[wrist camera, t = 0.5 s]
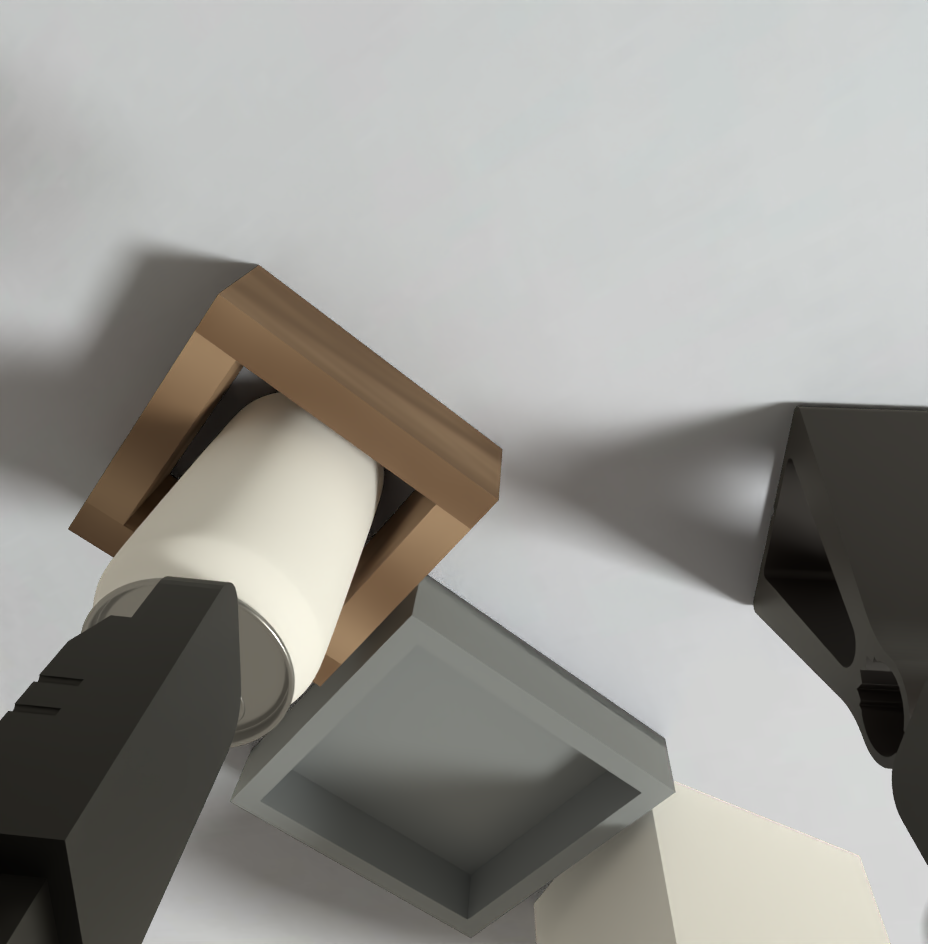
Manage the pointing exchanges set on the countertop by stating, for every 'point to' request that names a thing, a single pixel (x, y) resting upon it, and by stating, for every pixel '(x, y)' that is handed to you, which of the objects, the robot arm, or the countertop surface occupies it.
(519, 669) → the tray
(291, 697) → the can
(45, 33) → the countertop surface
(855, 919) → the milk
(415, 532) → the socket block
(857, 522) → the phone stand
